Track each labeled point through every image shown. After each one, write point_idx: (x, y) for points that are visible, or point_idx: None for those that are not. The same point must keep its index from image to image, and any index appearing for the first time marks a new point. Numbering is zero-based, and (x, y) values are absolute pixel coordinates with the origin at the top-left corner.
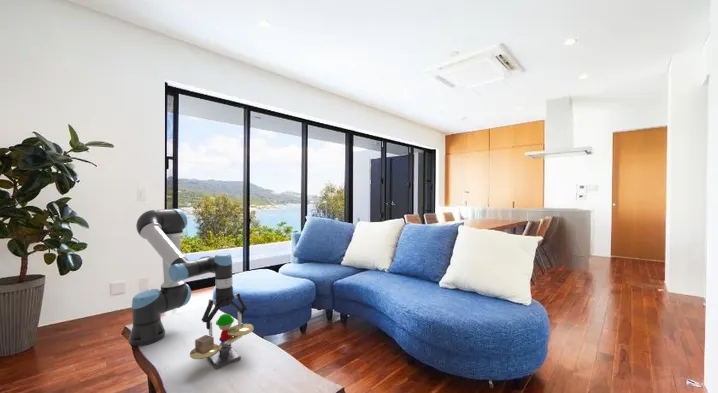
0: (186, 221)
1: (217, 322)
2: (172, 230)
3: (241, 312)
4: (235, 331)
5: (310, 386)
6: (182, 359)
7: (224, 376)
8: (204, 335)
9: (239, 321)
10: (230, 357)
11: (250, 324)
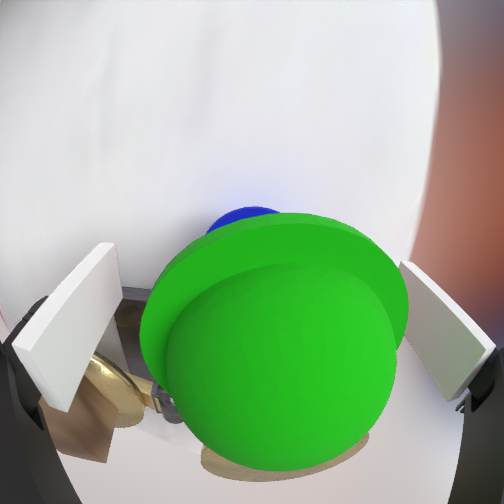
0: None
1: (160, 342)
2: None
3: (467, 401)
4: (243, 467)
5: None
6: (25, 204)
7: (155, 414)
8: (51, 426)
9: (412, 328)
10: None
11: (365, 441)
